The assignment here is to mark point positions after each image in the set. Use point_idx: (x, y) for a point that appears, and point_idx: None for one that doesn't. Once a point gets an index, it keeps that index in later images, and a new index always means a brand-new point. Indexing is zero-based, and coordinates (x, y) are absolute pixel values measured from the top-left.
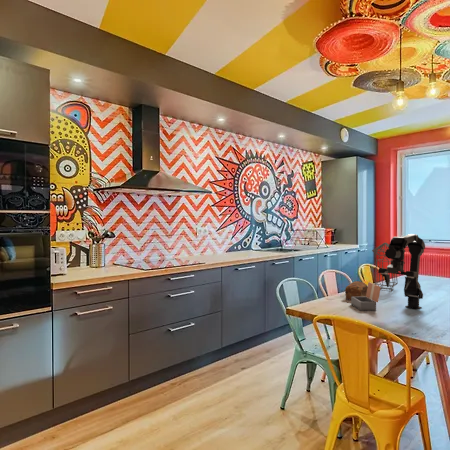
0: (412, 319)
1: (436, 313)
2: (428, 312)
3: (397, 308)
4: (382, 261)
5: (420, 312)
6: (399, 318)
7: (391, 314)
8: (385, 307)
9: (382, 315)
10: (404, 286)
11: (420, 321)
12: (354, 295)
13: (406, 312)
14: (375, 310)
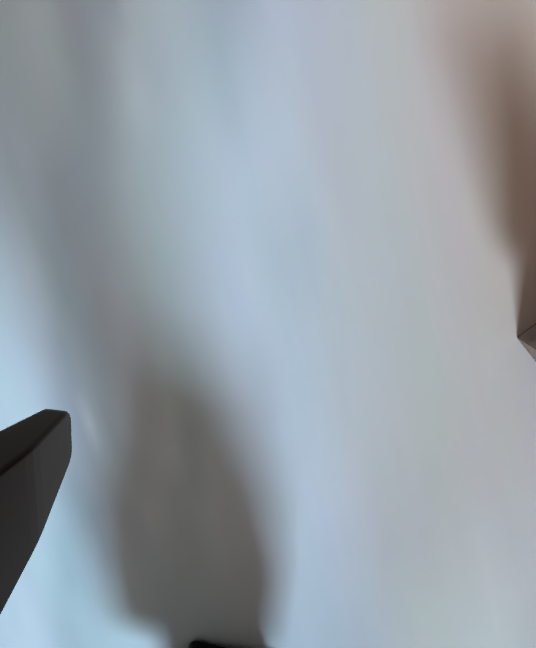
0: (96, 247)
1: (5, 622)
2: (70, 612)
3: (344, 577)
4: None
5: (126, 569)
6: (219, 188)
7: (336, 303)
8: (456, 541)
9: (412, 185)
10: (19, 454)
11: (6, 222)
12: None
13: (231, 486)
14: (525, 335)
